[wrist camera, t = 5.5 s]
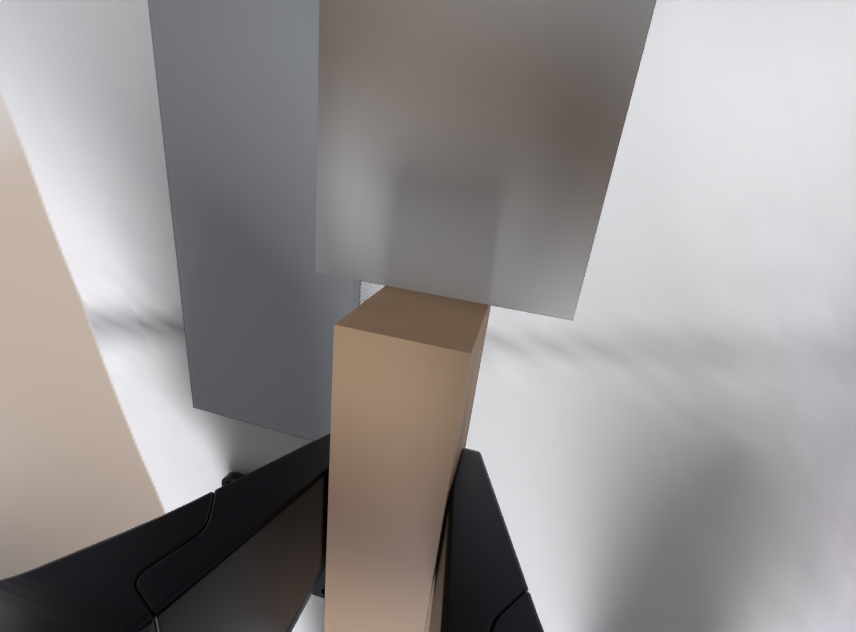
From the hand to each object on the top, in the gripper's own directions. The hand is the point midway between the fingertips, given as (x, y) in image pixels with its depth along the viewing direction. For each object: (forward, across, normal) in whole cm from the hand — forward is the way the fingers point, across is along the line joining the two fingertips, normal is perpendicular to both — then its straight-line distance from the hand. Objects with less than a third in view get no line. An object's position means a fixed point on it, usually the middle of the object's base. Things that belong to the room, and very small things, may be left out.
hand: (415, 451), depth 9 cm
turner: (+1, 0, -2) cm, 2 cm away
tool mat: (+7, +8, -4) cm, 12 cm away
